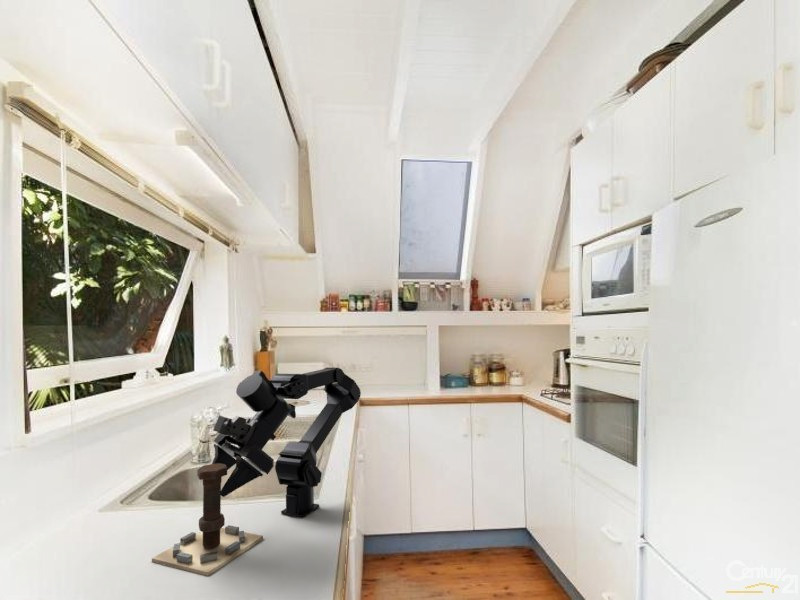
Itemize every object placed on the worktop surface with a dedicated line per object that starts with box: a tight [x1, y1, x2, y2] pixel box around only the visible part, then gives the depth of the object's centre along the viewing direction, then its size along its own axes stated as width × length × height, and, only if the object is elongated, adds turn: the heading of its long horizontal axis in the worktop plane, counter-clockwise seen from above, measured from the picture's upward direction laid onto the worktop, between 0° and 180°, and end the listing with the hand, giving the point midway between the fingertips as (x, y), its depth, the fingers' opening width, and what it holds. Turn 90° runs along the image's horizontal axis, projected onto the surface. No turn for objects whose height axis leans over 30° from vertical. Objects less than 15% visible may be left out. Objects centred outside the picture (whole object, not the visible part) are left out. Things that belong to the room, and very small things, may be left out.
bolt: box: [196, 463, 228, 549], centre depth 84 cm, size 6×5×15 cm
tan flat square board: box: [151, 527, 264, 577], centre depth 84 cm, size 14×14×1 cm
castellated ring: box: [172, 524, 245, 564], centre depth 84 cm, size 13×13×1 cm
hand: (212, 489), depth 85 cm, fingers open, 9 cm apart
